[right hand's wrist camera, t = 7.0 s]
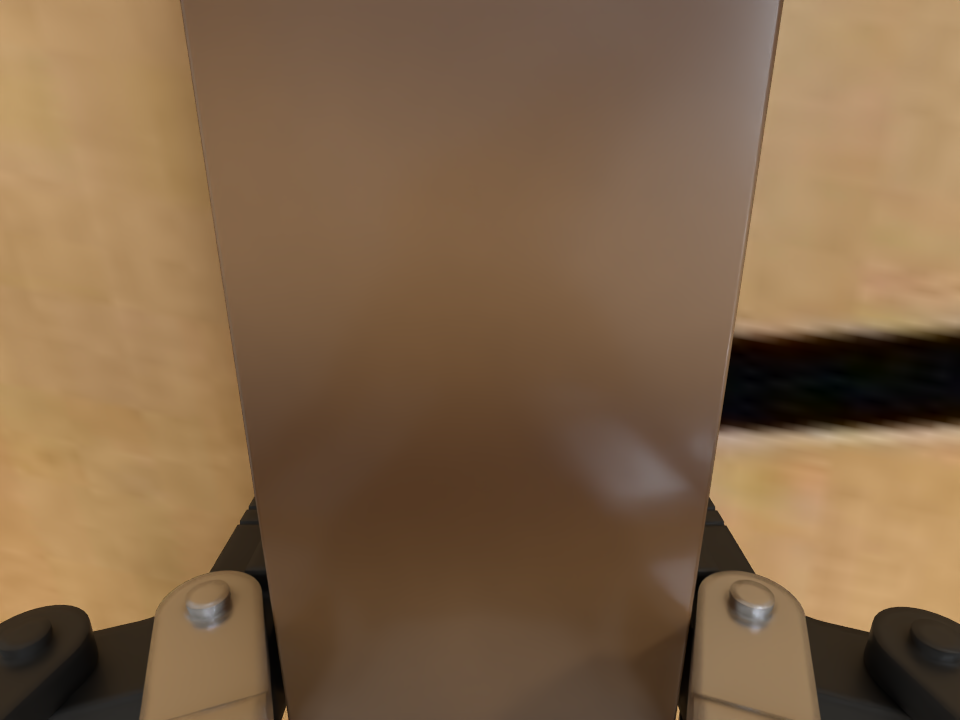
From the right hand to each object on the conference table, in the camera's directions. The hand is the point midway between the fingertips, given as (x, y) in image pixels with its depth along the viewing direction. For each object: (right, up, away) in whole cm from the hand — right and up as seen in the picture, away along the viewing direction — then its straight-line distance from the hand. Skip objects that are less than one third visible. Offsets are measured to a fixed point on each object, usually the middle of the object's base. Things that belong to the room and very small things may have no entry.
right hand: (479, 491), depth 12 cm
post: (0, +24, -6) cm, 25 cm away
